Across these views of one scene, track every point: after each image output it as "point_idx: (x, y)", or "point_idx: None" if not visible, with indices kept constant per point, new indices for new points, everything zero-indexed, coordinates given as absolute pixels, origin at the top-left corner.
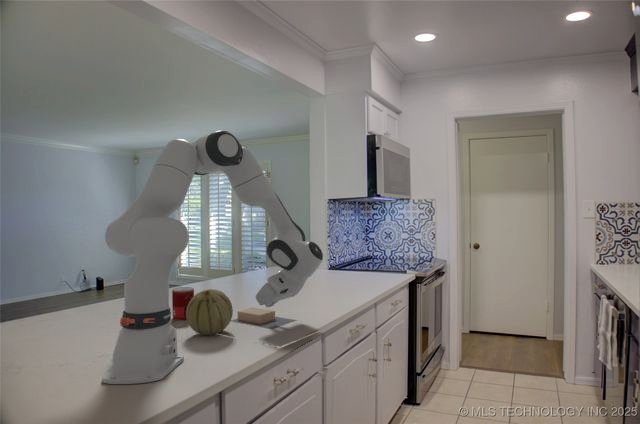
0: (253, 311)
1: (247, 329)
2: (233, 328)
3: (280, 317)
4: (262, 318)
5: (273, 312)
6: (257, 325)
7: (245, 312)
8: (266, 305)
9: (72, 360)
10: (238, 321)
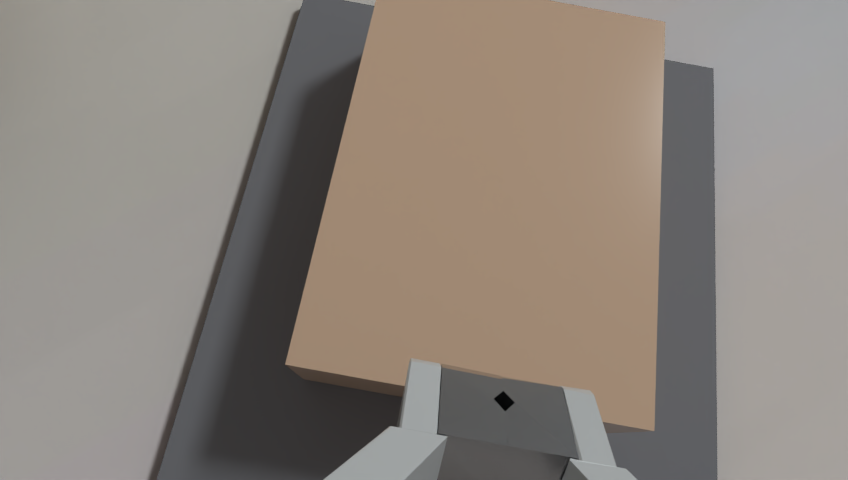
0: (467, 143)
1: (81, 329)
2: (88, 159)
3: (715, 457)
4: (340, 379)
5: (606, 424)
6: (216, 385)
7: (370, 77)
8: (400, 407)
9: None
10: (319, 83)
